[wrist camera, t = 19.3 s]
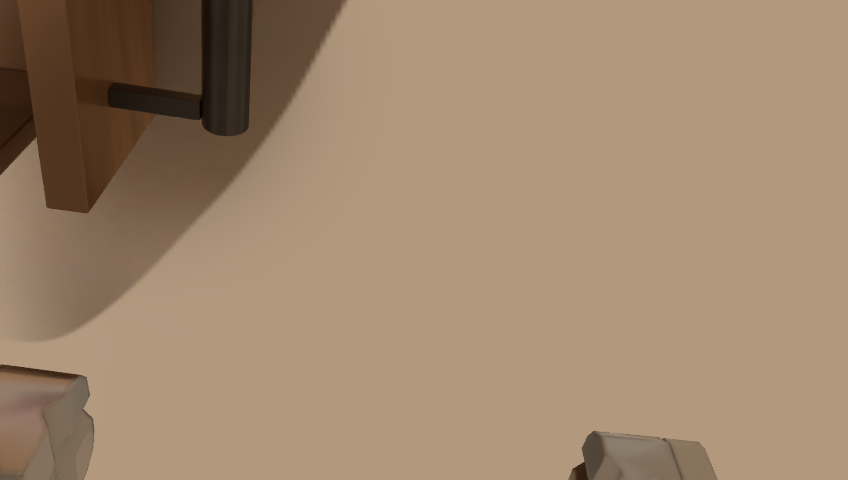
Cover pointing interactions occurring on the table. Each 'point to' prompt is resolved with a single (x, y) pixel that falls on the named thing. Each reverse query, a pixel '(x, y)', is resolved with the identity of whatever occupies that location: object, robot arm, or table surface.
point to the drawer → (107, 86)
